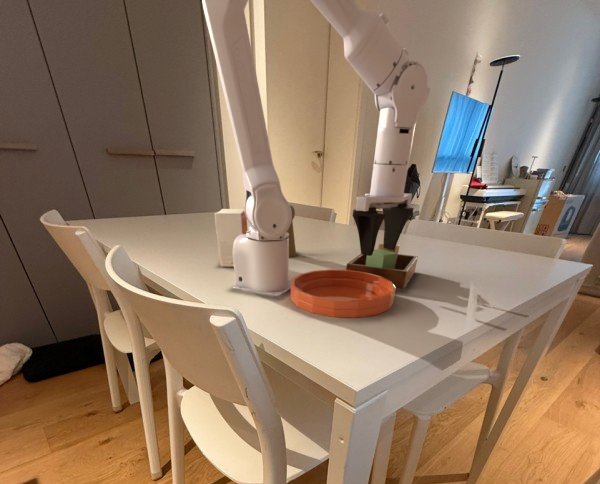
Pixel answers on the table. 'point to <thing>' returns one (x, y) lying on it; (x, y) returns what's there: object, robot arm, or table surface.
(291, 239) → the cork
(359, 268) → the holder
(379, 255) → the green block
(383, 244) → the light brown block
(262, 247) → the robot arm
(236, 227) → the small box
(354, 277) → the orange round tray
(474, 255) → the table surface
